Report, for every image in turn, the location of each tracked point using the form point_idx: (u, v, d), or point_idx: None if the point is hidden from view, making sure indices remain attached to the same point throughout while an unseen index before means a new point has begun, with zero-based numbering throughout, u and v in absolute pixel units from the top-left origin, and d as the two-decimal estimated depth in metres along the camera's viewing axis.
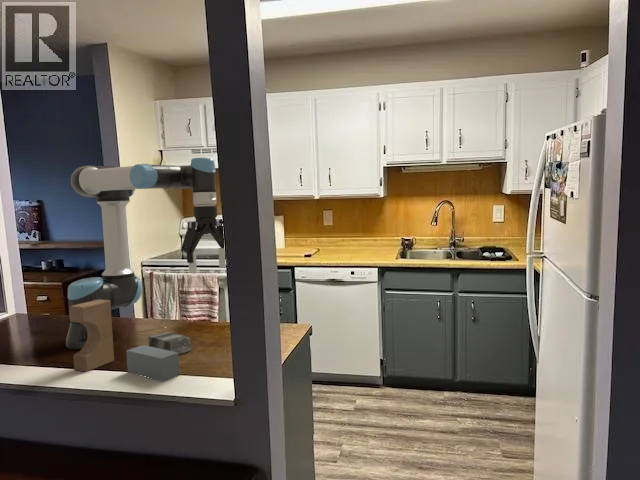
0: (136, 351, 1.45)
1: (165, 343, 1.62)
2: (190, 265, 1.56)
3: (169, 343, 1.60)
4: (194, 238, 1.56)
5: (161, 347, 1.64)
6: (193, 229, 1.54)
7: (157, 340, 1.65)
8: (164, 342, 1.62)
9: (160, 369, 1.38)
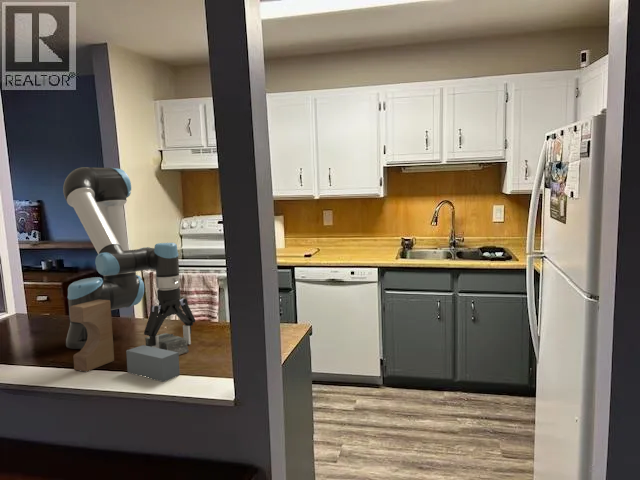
0: (136, 351, 1.45)
1: (161, 344, 1.61)
2: None
3: (165, 344, 1.59)
4: (157, 321, 1.63)
5: None
6: (156, 313, 1.61)
7: None
8: (160, 343, 1.61)
9: (160, 369, 1.39)
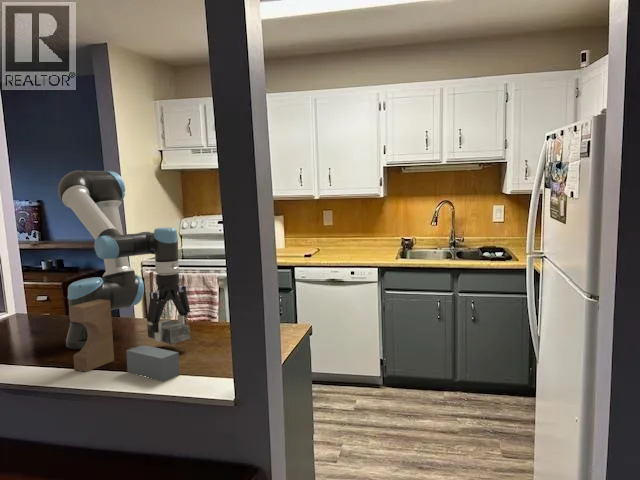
0: (136, 351, 1.45)
1: (165, 331, 1.62)
2: (155, 334, 1.64)
3: (169, 331, 1.61)
4: (158, 307, 1.64)
5: None
6: (155, 300, 1.61)
7: None
8: (164, 330, 1.62)
9: (160, 369, 1.39)
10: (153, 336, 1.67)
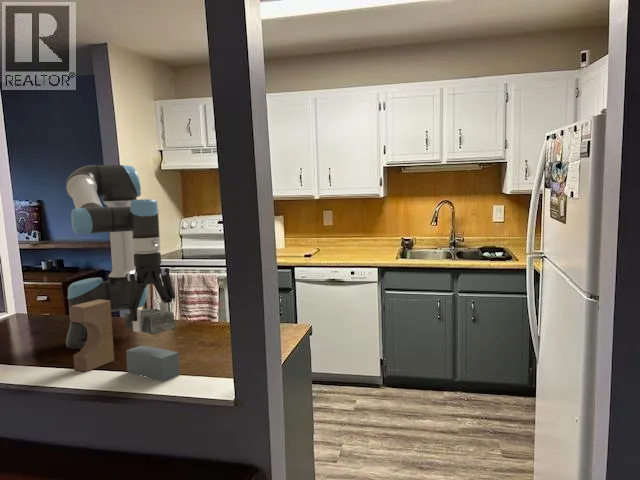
0: (136, 351, 1.45)
1: (144, 319, 1.38)
2: (134, 323, 1.40)
3: (149, 318, 1.37)
4: (136, 292, 1.40)
5: None
6: (133, 283, 1.37)
7: None
8: (143, 318, 1.39)
9: (160, 369, 1.39)
10: (132, 326, 1.43)
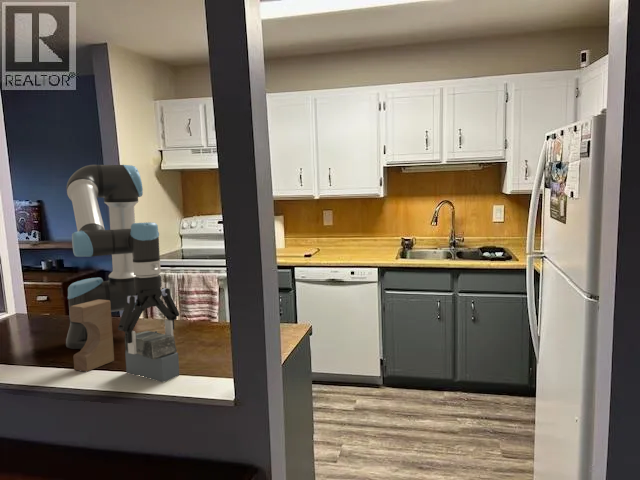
0: None
1: (145, 343, 1.38)
2: (129, 345, 1.39)
3: (150, 343, 1.37)
4: (134, 314, 1.39)
5: (140, 348, 1.40)
6: (131, 305, 1.37)
7: None
8: (144, 342, 1.38)
9: (159, 369, 1.38)
10: None
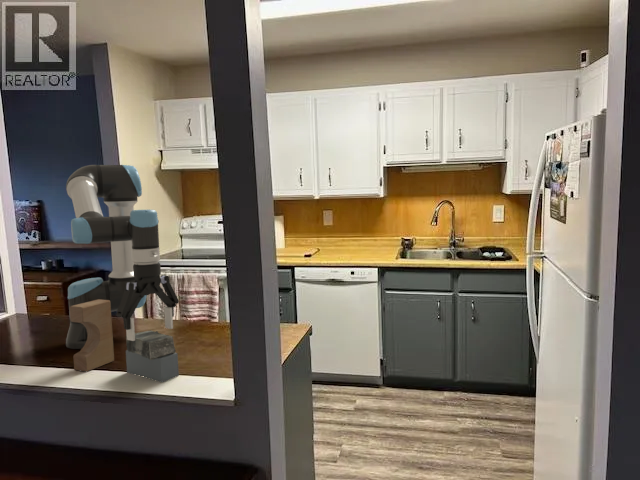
0: None
1: (143, 343, 1.38)
2: (127, 332, 1.38)
3: (148, 343, 1.36)
4: (132, 301, 1.39)
5: (139, 348, 1.40)
6: (130, 292, 1.37)
7: (135, 340, 1.41)
8: (142, 342, 1.38)
9: (158, 370, 1.38)
10: (132, 349, 1.43)
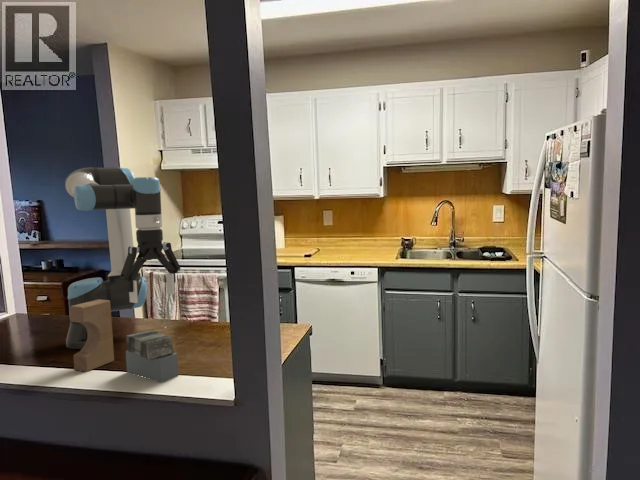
0: None
1: (142, 344, 1.38)
2: (130, 294, 1.44)
3: (145, 344, 1.36)
4: (135, 265, 1.44)
5: (138, 348, 1.40)
6: (133, 255, 1.42)
7: (134, 340, 1.42)
8: (141, 342, 1.38)
9: (158, 370, 1.38)
10: (132, 349, 1.44)
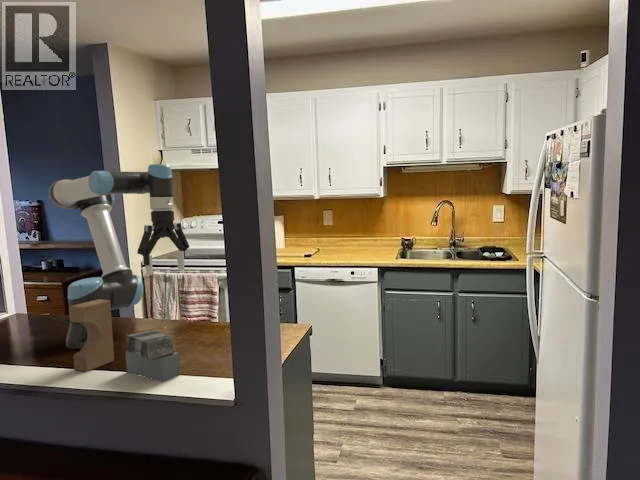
0: None
1: (142, 343, 1.38)
2: (146, 268, 1.62)
3: (146, 344, 1.36)
4: (151, 241, 1.63)
5: (139, 348, 1.40)
6: (149, 233, 1.61)
7: (135, 340, 1.42)
8: (141, 342, 1.38)
9: (160, 369, 1.39)
10: (132, 349, 1.44)
